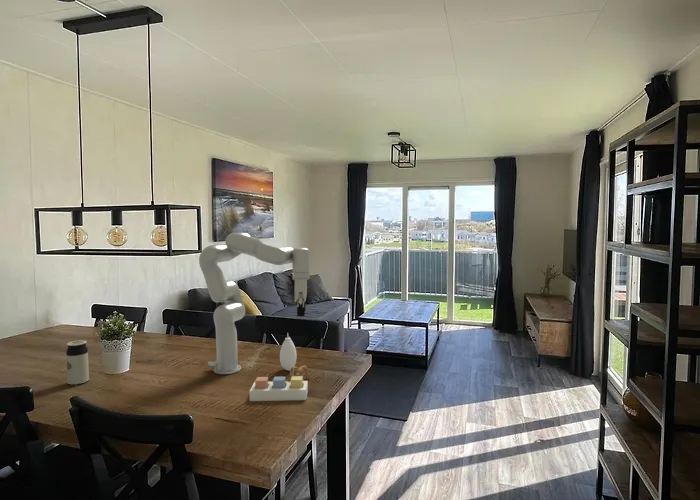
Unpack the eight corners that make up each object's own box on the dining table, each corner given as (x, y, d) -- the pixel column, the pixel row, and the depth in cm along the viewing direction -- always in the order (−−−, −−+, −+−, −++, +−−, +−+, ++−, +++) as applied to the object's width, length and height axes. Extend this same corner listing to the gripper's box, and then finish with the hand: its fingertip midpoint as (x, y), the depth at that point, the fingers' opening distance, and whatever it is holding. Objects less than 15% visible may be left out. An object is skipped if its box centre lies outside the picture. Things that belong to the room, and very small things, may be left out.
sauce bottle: (293, 373, 201) (292, 334, 200) (277, 372, 202) (276, 334, 201) (298, 367, 208) (298, 330, 207) (283, 366, 210) (282, 330, 209)
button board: (249, 401, 169) (249, 391, 169) (254, 391, 179) (254, 381, 179) (306, 399, 170) (305, 390, 169) (307, 390, 180) (307, 380, 179)
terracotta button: (255, 390, 172) (255, 380, 171) (257, 386, 176) (257, 377, 176) (266, 390, 172) (266, 380, 172) (268, 386, 176) (268, 376, 176)
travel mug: (86, 378, 196) (84, 339, 195) (91, 382, 191) (89, 342, 190) (65, 382, 191) (64, 342, 190) (70, 387, 185) (68, 346, 184)
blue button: (273, 390, 172) (272, 380, 172) (274, 386, 176) (274, 376, 176) (284, 390, 172) (284, 380, 172) (285, 386, 176) (285, 376, 176)
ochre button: (290, 390, 172) (290, 380, 172) (291, 385, 176) (291, 376, 176) (301, 389, 172) (301, 380, 172) (302, 385, 177) (302, 376, 176)
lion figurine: (298, 389, 180) (298, 368, 180) (287, 388, 182) (286, 367, 182) (312, 377, 195) (311, 358, 194) (301, 376, 196) (300, 357, 196)
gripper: (293, 273, 200) (294, 310, 201) (291, 278, 183) (291, 318, 184) (310, 273, 201) (310, 309, 202) (309, 277, 184) (309, 317, 185)
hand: (301, 313), depth 193 cm, fingers open, 9 cm apart
